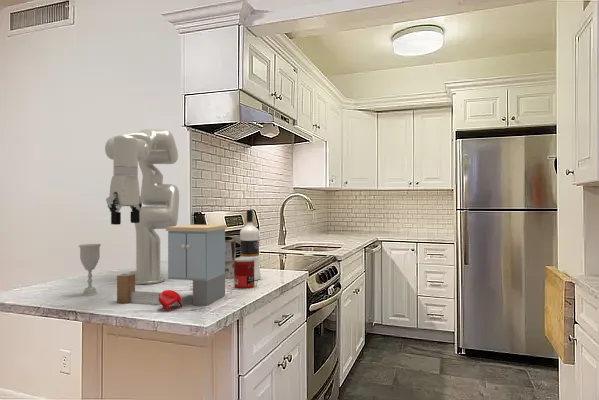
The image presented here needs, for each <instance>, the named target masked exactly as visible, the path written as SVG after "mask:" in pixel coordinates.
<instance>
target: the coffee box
mask: <svg viewBox="0 0 599 400" xmlns="http://www.w3.org/2000/svg"><path fill="white" fill-rule="evenodd" d="M236 252H237V251H236V239H225V279H234V259H236V258H237V257H236Z"/></svg>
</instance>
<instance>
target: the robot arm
mask: <svg viewBox="0 0 599 400" xmlns="http://www.w3.org/2000/svg"><path fill="white" fill-rule="evenodd" d="M104 145H105V146H104V152H105V155H106V157H108V158H109V159H110V160H112V161H113V171H112V173H113V174H112V177H111V181H110V186H109V196H108V197H106V199H105V200H106V201H105V202H106V204H107V208H108V209H109V212H110V225H113V226H114V225H121V223H122V222H121V221H122V218H121V216H122V215H121V214H122V213H121V209H122V207H129V208H130V209H131V210H130V223H131V224H134V227H135V239H136V240H135V241H136V243H135V244H136V245H135V247H136V248H135V250H136V252H135V256H136V257H135V261H136V262H135V265H136V266H135V270H131V271H130V272H129V273H128V274H135V285H151V284H152V285H153V284H160V283H162V282H165V277H164V276H161V239H160V236H159V234H158V233H157V232H156V231H155V230H166V227H172V226H178V220H179V207H180V191H179V188H178V186H177V185H176V184H172V183H171V184H168V183H164V182H163V181H164V180H163V179H164V176H163V174H162V172H161V171H160V170H159V169H158V168H157V166H155V165H173V164H176V163H177V162H178V158H179V154H178V152H179V151H178V149H177V146H176V141H175V138H174V136H173V134H172V133H171V131H170V130H168V129H154V128H151V129H148V128H145V129H142V130H140V131H138V132H135V133H127V134H121V135H116V136H111V137H110V138H108V139H107V141H106V143H105V144H104ZM138 167H139V168H140V171H141V176H142V180H141V188H140V183H139V173H138V172H139V168H138ZM140 189H141V190H140ZM143 205H144V206H143Z"/></svg>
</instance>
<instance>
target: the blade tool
mask: <svg viewBox="0 0 599 400" xmlns="http://www.w3.org/2000/svg"><path fill="white" fill-rule="evenodd" d="M161 293H162V292H156V291H155V292H154V291H139V290H136V284H135V274H129V273H123V274H118V275H116V303H117V304H143V305H158V306H160V305H161V303H160V302H159V300H158V298H159V297H160V294H161Z"/></svg>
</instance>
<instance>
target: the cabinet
mask: <svg viewBox="0 0 599 400" xmlns="http://www.w3.org/2000/svg"><path fill="white" fill-rule="evenodd" d="M226 229H228V225H227V224H183V225H176V226H172V227H166V229H165V232H167V254H168V255H167V265H168V266H167V273H168V274H167V277H168V278H167V279H168V280H176V281H177V280H178V281H181V280H182V281H192V306H209V305H211V304H212V303H214V302H217V301H218V300H220V299H222V298H224V297H225V296H226V278H225V240H226Z"/></svg>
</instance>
